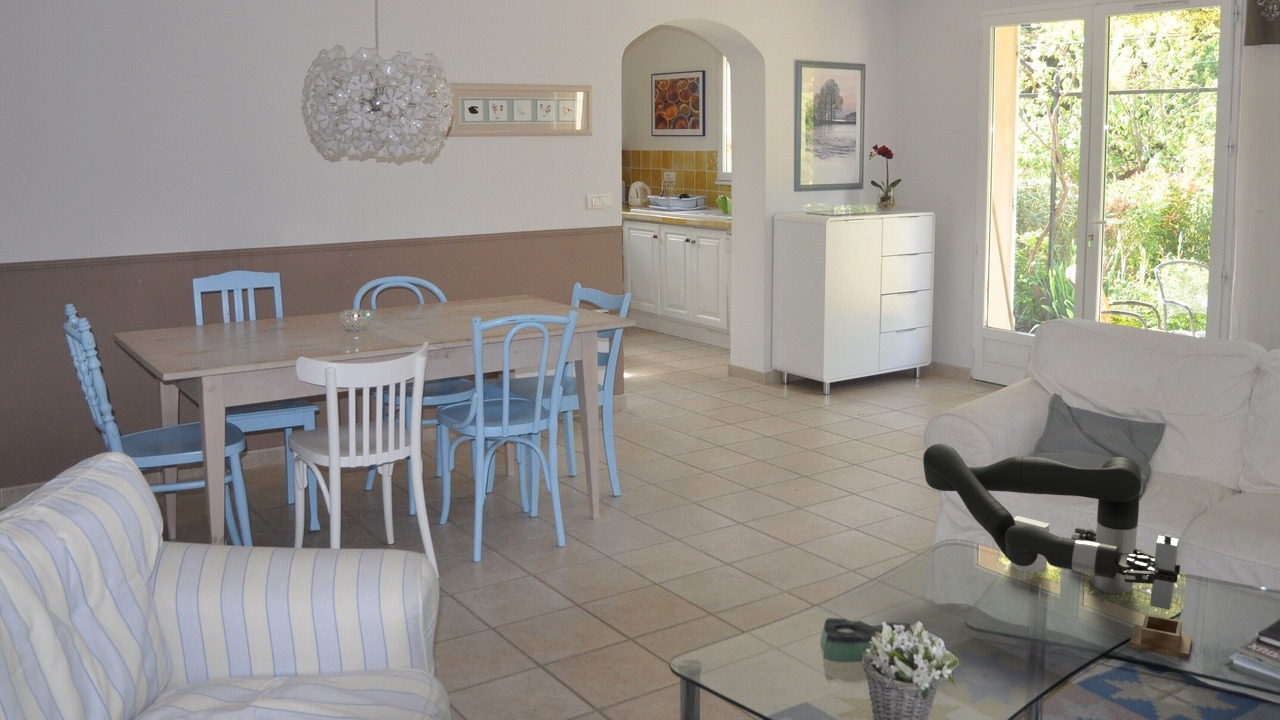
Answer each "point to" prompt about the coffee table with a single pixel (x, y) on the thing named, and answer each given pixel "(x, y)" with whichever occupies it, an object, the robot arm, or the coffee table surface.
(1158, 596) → the tall gray rectangular post
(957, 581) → the coffee table surface
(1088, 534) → the lighter
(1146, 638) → the brown open box stand
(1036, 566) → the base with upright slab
